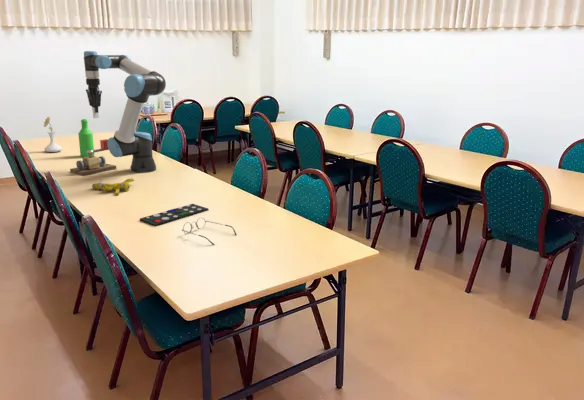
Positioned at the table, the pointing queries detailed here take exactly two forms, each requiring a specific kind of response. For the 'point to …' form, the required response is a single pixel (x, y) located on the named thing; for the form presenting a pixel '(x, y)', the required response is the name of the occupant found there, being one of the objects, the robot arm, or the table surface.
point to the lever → (103, 147)
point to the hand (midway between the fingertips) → (96, 117)
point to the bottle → (85, 139)
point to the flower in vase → (52, 146)
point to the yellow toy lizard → (113, 186)
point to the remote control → (173, 214)
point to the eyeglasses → (203, 227)
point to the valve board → (93, 171)
